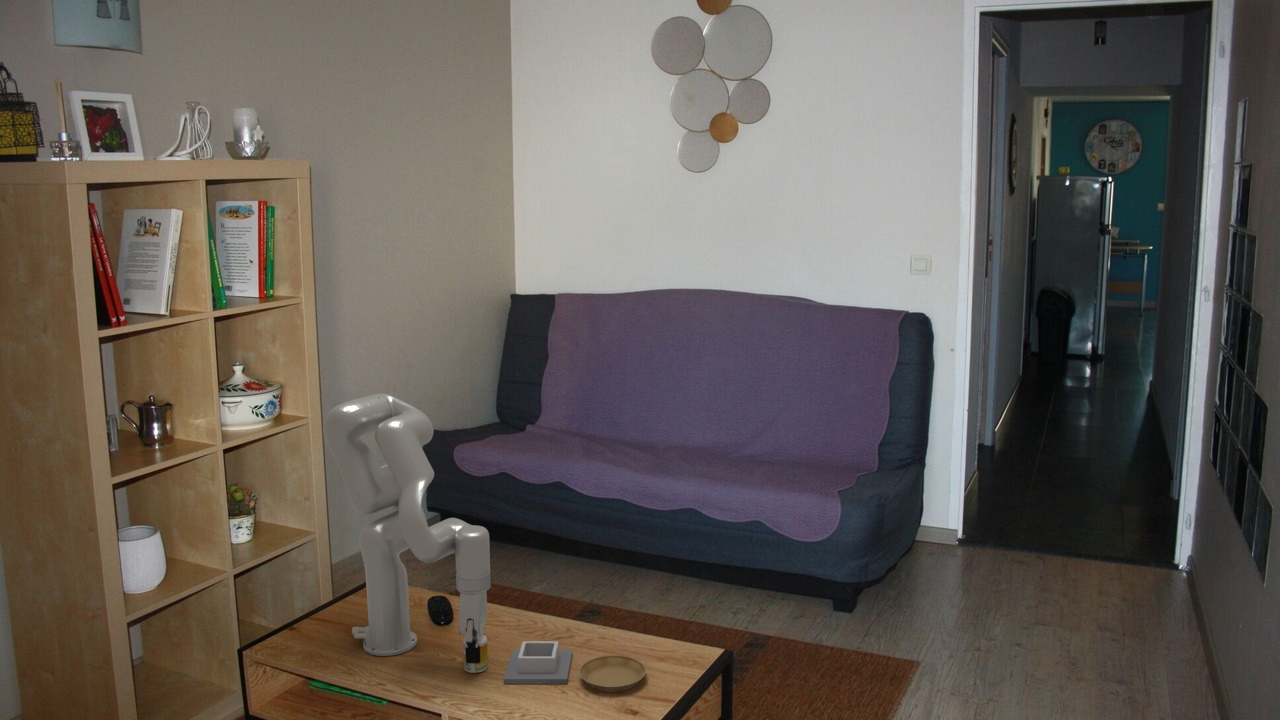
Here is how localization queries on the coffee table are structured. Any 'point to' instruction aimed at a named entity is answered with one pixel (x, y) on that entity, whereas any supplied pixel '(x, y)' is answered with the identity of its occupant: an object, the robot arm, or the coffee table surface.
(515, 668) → the bottle holder
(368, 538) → the robot arm
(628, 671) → the plant saucer
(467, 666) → the supplement bottle
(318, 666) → the coffee table surface
